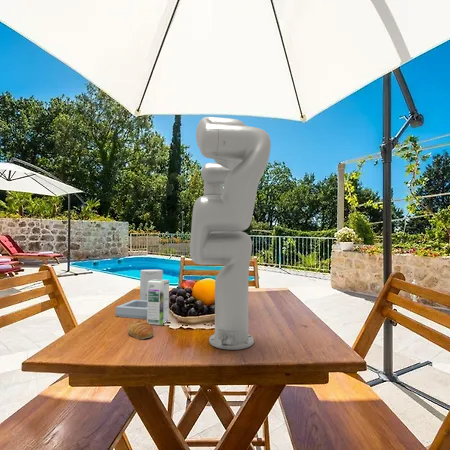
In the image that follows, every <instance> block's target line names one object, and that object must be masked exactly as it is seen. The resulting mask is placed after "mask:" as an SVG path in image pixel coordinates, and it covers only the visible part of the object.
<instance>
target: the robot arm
mask: <svg viewBox="0 0 450 450" xmlns="http://www.w3.org/2000/svg"><path fill="white" fill-rule="evenodd" d="M195 139H196V144H197V146H198V149H199V151H200V153H201V156H203V157H204V158H206V159H211V160H212V159H213V161H214V162H206V163H204V164H203V166H202V167H201V173H200V174H201V180H203V195H202V196H201V195H200V196H199V197H198V198H197V199H196V200H195V202H194V204H193V208H192V214H191V215H192V216H191V228H190V243H189V255H190V259H191V261H192V262H193V263H194V264H197V265H207V266H208V265H220V266H221V265H223V267H222V268H221V269H220V270H219V272H218V274H217V275H216V277H215V280H214V333H213V334H211V335H210V336H209V339H208V342H209V344H210V345H211V346H212V347H215V348H217V349H222V350H230V351H235V350H244V349H248V348H250V347H252V346H253V345H254V343H255V341H254V336H253V335H251V334H250V333H249V285H250V284H249V274H250V272H249V271H250V264H251V256H252V252H253V251H252V250H253V242H252V239H251V236H250V235H249V234H248V233H247V232H244V231H245V230H248V228H249V227H250V225H251V223H252V219H253V216H254V215H253V214H254V209H255V204H256V200H257V199H256V198H257V192H258V186H259V183H260V182H261V178H262V177H263V175H264V173H265V171H266V168H267V166H268V163H269V159H270V155H271V148H272V147H271V143H272V142H271V137H270V134H268V132H267V131H265V130H264V129H262V128H259V127H256V126H250V125H249V126H248V125H246V124H245V123H244V121H241V120H240V119H237V118H229V117H216V116H205V117H202V118H201V119H200V120H199V122H198V124H197V127H196V131H195Z"/></svg>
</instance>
